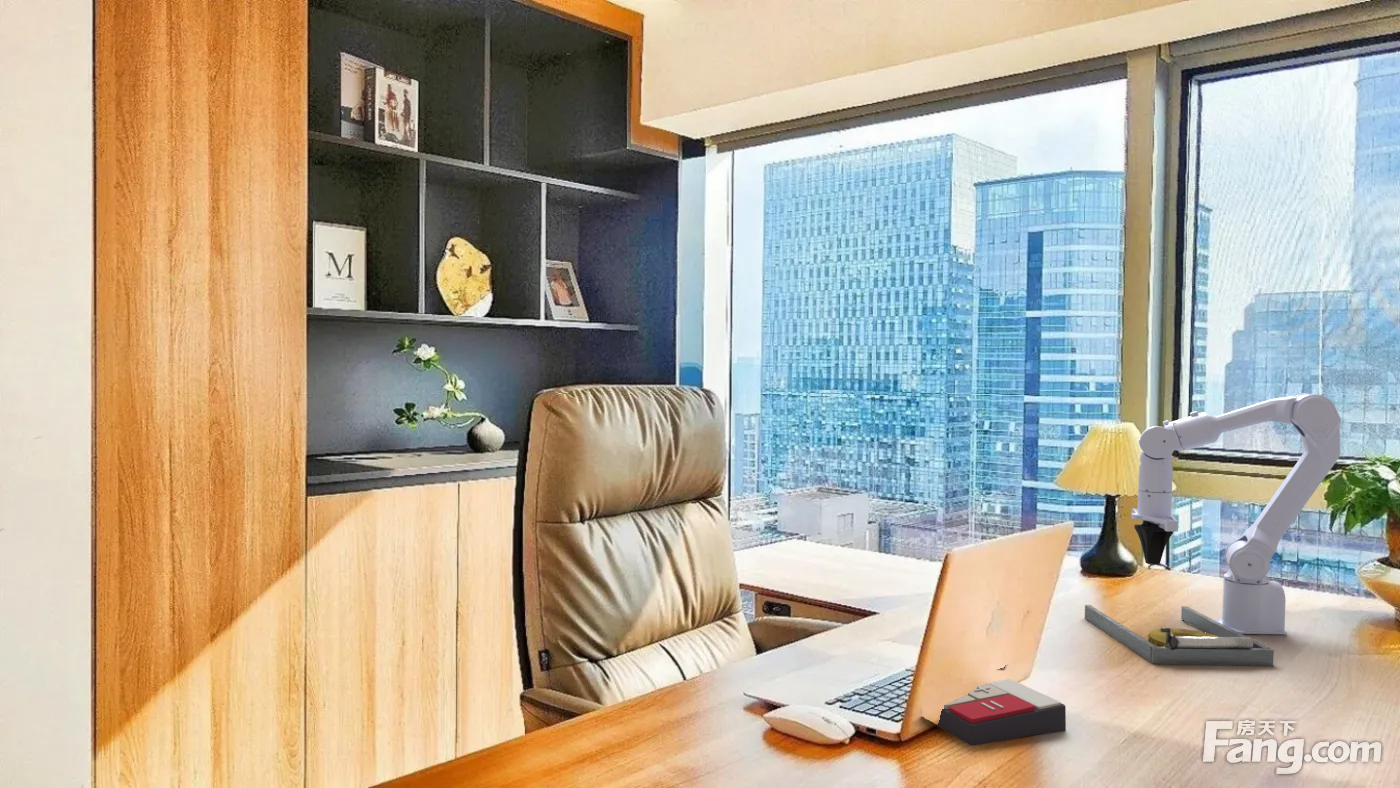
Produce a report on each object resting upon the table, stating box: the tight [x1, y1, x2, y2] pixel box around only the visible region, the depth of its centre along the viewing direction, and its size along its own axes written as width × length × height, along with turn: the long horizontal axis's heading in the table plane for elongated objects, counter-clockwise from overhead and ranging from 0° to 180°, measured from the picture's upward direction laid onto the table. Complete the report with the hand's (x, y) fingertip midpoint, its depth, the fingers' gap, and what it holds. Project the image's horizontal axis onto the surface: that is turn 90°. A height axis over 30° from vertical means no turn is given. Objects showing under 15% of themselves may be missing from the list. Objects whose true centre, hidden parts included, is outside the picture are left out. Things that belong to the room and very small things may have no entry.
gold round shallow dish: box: [1147, 628, 1219, 647], centre depth 165 cm, size 12×12×2 cm
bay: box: [1084, 604, 1275, 667], centre depth 170 cm, size 19×29×6 cm, turn 0°
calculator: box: [936, 678, 1067, 747], centre depth 130 cm, size 11×4×15 cm
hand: (1152, 563), depth 184 cm, fingers closed
